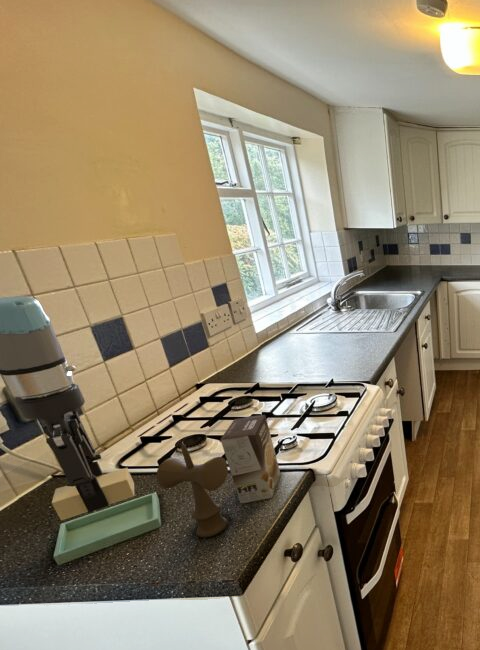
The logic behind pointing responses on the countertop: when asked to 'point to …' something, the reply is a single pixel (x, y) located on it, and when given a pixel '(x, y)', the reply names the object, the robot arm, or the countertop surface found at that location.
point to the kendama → (198, 488)
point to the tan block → (112, 486)
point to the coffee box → (251, 458)
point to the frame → (107, 528)
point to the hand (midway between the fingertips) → (99, 499)
